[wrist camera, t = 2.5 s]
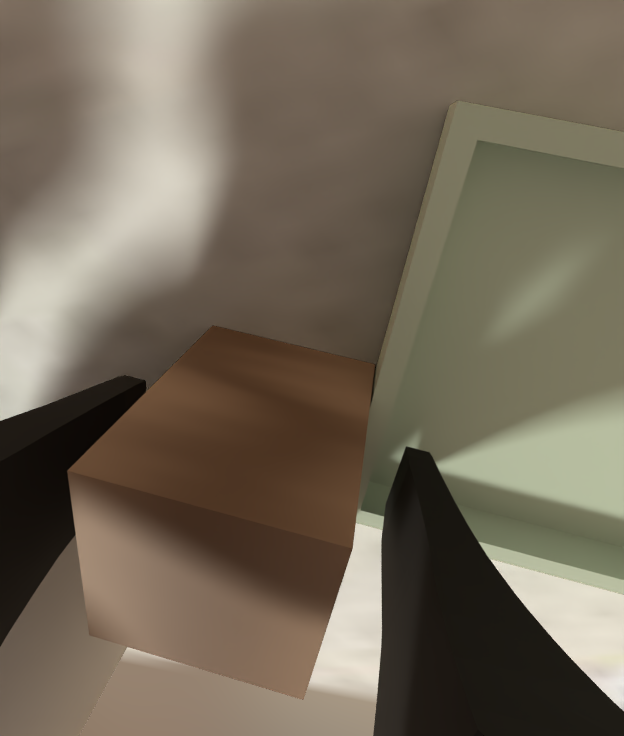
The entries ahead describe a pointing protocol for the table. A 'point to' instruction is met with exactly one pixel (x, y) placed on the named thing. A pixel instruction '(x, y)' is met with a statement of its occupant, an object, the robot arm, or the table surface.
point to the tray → (513, 343)
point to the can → (54, 658)
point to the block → (226, 508)
